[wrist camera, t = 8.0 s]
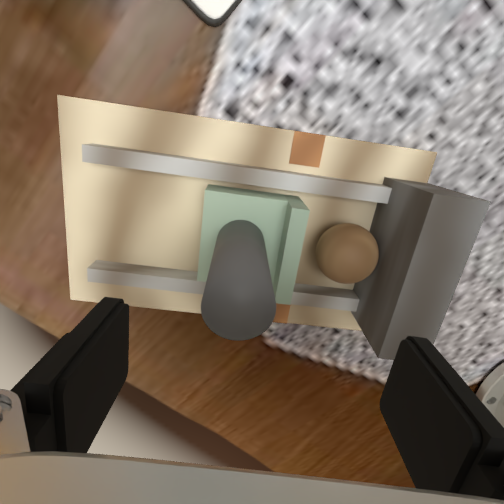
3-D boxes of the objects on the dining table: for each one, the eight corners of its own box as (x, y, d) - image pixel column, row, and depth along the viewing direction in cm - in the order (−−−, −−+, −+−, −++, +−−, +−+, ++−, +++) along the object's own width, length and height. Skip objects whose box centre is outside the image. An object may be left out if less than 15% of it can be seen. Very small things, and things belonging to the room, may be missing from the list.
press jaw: (298, 196, 22) (342, 249, 12) (282, 277, 24) (309, 376, 14) (208, 184, 21) (180, 228, 12) (200, 267, 23) (171, 363, 14)
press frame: (425, 151, 22) (507, 160, 15) (371, 322, 27) (415, 388, 20) (69, 97, 21) (-20, 80, 14) (80, 290, 26) (18, 350, 19)
